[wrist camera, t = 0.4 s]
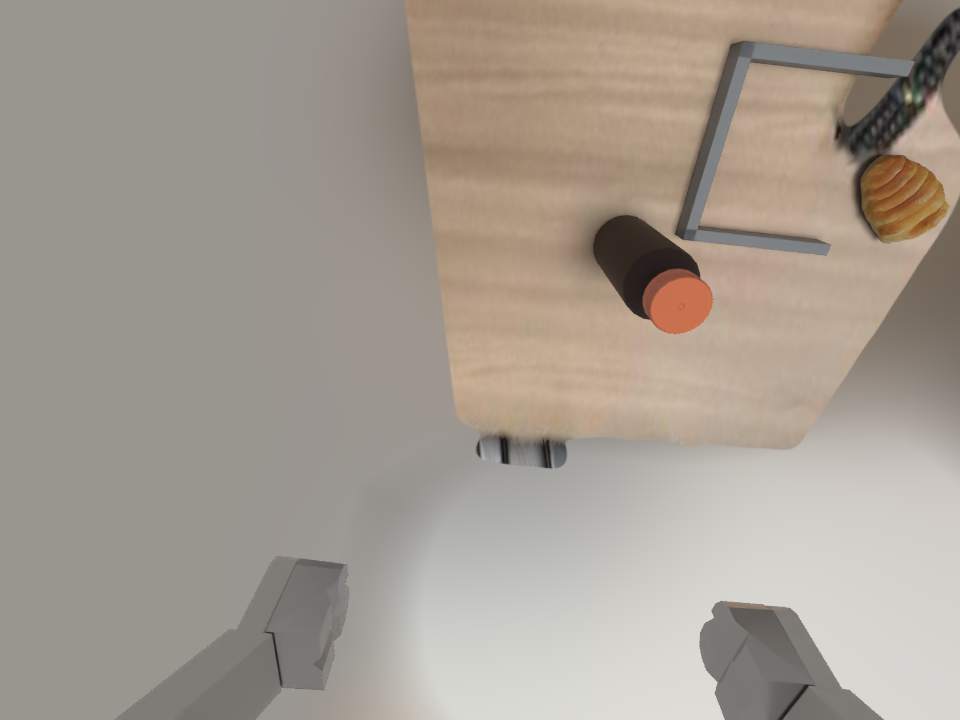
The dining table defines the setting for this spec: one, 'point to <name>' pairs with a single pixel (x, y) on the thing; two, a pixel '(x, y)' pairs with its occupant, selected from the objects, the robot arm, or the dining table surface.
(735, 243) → the corral
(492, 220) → the dining table surface
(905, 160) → the pastry
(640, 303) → the bottle
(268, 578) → the robot arm
